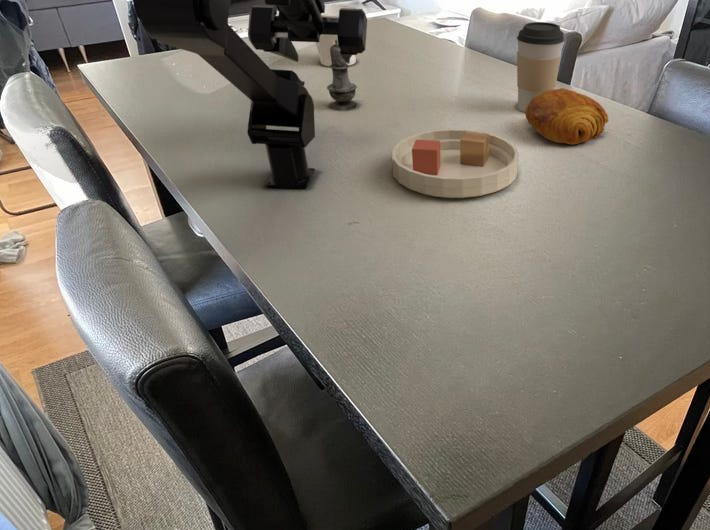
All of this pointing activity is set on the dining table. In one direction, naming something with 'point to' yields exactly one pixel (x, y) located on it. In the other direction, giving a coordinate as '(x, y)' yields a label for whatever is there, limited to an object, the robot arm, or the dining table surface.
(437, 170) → the block
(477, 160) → the block
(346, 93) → the grey turned piece
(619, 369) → the dining table surface
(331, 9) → the cup
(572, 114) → the croissant
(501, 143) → the round wooden tray
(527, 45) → the coffee cup
